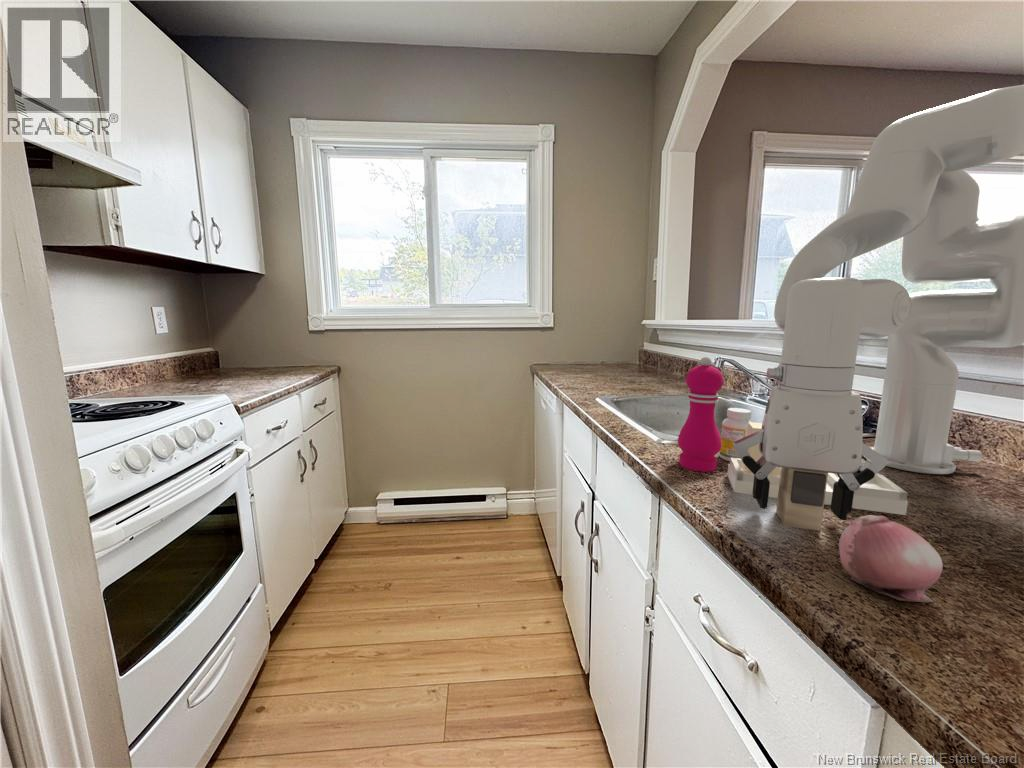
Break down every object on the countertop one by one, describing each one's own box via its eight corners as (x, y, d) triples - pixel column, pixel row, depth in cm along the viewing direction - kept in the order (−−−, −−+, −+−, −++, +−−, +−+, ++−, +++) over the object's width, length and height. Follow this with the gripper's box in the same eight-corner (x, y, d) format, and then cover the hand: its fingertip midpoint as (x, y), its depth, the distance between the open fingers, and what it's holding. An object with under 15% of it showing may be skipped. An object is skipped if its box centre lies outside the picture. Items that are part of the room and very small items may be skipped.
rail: (879, 493, 64) (888, 430, 62) (905, 515, 56) (917, 445, 55) (727, 475, 71) (732, 418, 69) (734, 492, 64) (740, 429, 62)
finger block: (776, 511, 57) (782, 456, 56) (810, 516, 56) (817, 460, 55) (785, 528, 53) (792, 468, 52) (822, 533, 51) (830, 472, 50)
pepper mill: (724, 474, 71) (735, 359, 68) (680, 471, 72) (688, 358, 69) (713, 460, 78) (722, 355, 75) (673, 458, 79) (680, 354, 76)
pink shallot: (830, 566, 46) (846, 504, 47) (925, 602, 42) (942, 533, 42) (833, 578, 40) (851, 506, 40) (946, 622, 35) (965, 540, 36)
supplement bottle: (731, 464, 76) (735, 413, 75) (712, 454, 82) (716, 407, 80) (757, 462, 77) (762, 412, 76) (737, 453, 82) (741, 406, 81)
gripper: (741, 379, 51) (729, 511, 54) (919, 388, 45) (895, 535, 48) (732, 372, 58) (722, 489, 61) (886, 379, 52) (866, 508, 55)
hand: (798, 509), depth 55 cm, fingers open, 8 cm apart
